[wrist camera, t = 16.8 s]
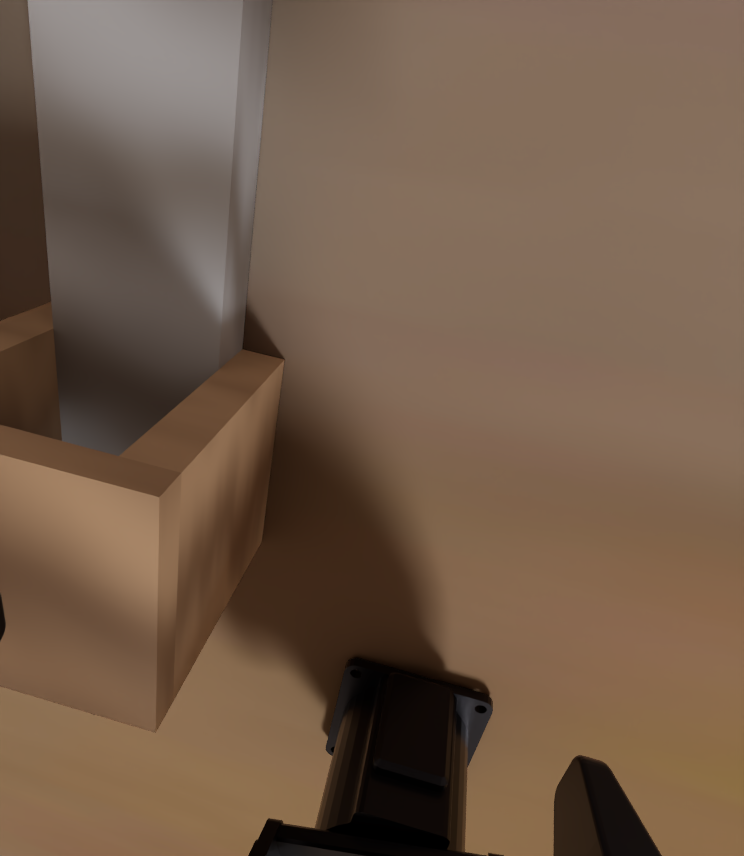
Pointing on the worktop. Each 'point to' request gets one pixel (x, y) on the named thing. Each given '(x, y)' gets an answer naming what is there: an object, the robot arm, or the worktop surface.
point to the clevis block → (135, 355)
